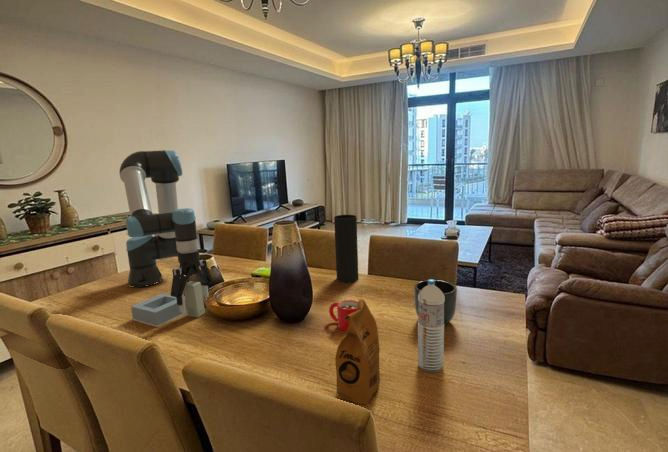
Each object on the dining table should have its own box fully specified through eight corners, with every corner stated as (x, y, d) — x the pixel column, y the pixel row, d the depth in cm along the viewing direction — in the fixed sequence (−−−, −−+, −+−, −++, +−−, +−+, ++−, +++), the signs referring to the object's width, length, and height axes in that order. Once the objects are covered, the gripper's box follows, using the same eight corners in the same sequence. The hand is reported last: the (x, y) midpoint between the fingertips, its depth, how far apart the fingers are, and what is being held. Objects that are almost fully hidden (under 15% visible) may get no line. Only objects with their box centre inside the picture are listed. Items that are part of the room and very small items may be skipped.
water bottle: (414, 360, 104) (414, 276, 99) (438, 358, 105) (439, 275, 100) (422, 374, 98) (422, 285, 93) (447, 372, 98) (449, 283, 93)
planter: (411, 328, 123) (411, 292, 120) (417, 311, 136) (417, 278, 133) (455, 334, 118) (456, 296, 116) (456, 315, 131) (457, 281, 128)
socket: (165, 306, 151) (163, 293, 150) (189, 311, 144) (187, 298, 143) (133, 320, 139) (131, 306, 138) (157, 327, 132) (155, 312, 131)
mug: (335, 317, 134) (334, 296, 133) (364, 323, 128) (364, 302, 127) (323, 326, 128) (322, 304, 126) (354, 333, 122) (353, 311, 120)
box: (205, 313, 142) (201, 281, 140) (198, 318, 138) (193, 285, 136) (194, 311, 144) (190, 280, 141) (186, 316, 140) (182, 284, 137)
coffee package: (330, 398, 90) (326, 314, 86) (350, 371, 101) (347, 295, 96) (368, 409, 86) (365, 322, 81) (385, 379, 96) (384, 300, 92)
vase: (358, 282, 168) (356, 218, 162) (336, 283, 168) (334, 219, 162) (357, 275, 178) (355, 214, 172) (336, 276, 178) (334, 215, 172)
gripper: (204, 242, 148) (210, 294, 152) (153, 258, 128) (162, 317, 132) (218, 244, 144) (224, 297, 148) (168, 260, 124) (176, 320, 129)
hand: (195, 306), depth 140 cm, fingers open, 10 cm apart
